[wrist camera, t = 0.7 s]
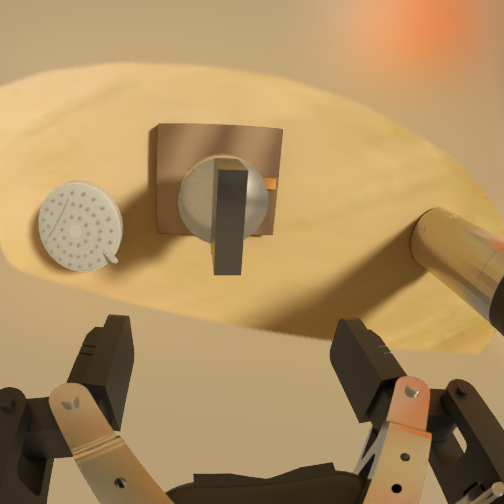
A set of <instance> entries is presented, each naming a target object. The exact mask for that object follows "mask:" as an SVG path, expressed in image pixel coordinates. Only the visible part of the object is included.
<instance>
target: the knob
mask: <svg viewBox="0 0 504 504" xmlns="http://www.w3.org/2000/svg"><path fill="white" fill-rule="evenodd" d="M268 200H269V198H268V191H267V187H266V184H265V182H264V180H263V178H262V177H261V175H260V174H259V173H258V172H257V171H256V170H255V169H254V168H253V167H252V166H251V165H250V164H249V163H248V162H246V161H245V160H243V159H242V158H240V157H237V156H234V155H230V154H214V155H210V156H207V157H205V158H203V159H201V160H199V161H198V162H196V163H195V164H194V165H193V166H192V167H191V168H190V169H189V170H188V172H187V173H186V175H185V177H184V179H183V181H182V184H181V188H180V192H179V197H178V208H179V213H180V216H181V219H182V221H183V223H184V224H185V226H186V227H187V228H188V230H189V231H190V232H191V233H192V234H194V235H195V236H196V237H198V238H199V239H201V240H203V241H206V242H209V243H211V254H212V261H213V270H214V275H241V266H242V252H243V240H244V239H245V238H247V237H249V236H250V235H251V234H253V233H254V232H255V231H256V230H257V229H258V227H259V226H260V225H261V223H262V222H263V220H264V218H265V216H266V213H267V209H268Z"/></svg>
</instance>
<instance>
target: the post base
mask: <svg viewBox="0 0 504 504" xmlns="http://www.w3.org/2000/svg"><path fill="white" fill-rule="evenodd" d="M282 135H283V129H277V128H266V127H253V126H238V125H218V124H158V138H157V234H192V233H191V232H190V231H189V230H188V228H187V227H186V226H185V224H184V223H183V221H182V219H181V216H180V213H179V208H178V197H179V192H180V188H181V184H182V181H183V179H184V177H185V175H186V173H187V172H188V170H189V169H190V168H191V167H192V166H193V165H194V164H195V163H196V162H198V161H199V160H201V159H203V158H205V157H207V156H210V155H214V154H230V155H234V156H237V157H240V158H242V159H243V160H245V161H246V162H248V163H249V164H250V165H251V166H252V167H253V168H254V169H255V170H256V171H257V172H258V173H259V174H260V175H261V177H262V178H263V180H264V182H265V184H266V187H267V191H268V198H269V200H268V209H267V213H266V216H265V218H264V220H263V222H262V223H261V225H260V226H259V227H258V229H257V230H256V231H255V232H254V233H253V234H251V235H273V226H274V217H275V207H276V197H277V187H278V177H279V167H280V156H281V146H282Z"/></svg>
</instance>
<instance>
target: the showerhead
mask: <svg viewBox="0 0 504 504" xmlns="http://www.w3.org/2000/svg"><path fill="white" fill-rule="evenodd" d="M38 228H39V234H40V238H41V240H42V243H43V245H44V247H45V249H46V250H47V252H48V253H49V255H50V256H51V257H52V258H53V259H54V260H55V261H56V262H57V263H59V264H60V265H62V266H63V267H65V268H67V269H70V270H73V271H77V272H91V271H95V270H98V269H100V268H102V267H104V266H105V265H106V264H108V263H109V262H110V261H111V262H112V263H117V262H118V259H117V258H116V257H115V254H116V252H117V250H118V248H119V245H120V243H121V240H122V236H123V221H122V216H121V213H120V210H119V208H118V205H117V204H116V202H115V200H114V199H113V198H112V197H111V195H110V194H109V193H108V192H107V191H106V190H104V189H103V188H101V187H100V186H98V185H96V184H94V183H91V182H88V181H71V182H68V183H65V184H63V185H61V186H59V187H57V188H55V189H54V190H53V191H52V192H51V193H49V195H48V196H47V197H46V198H45V200H44V202H43V204H42V206H41V209H40V212H39V218H38Z"/></svg>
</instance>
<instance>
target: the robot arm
mask: <svg viewBox="0 0 504 504" xmlns="http://www.w3.org/2000/svg"><path fill="white" fill-rule="evenodd" d="M411 252H412V255H413V257H414V259H415V260H416V261H417V262H418V263H419V264H421V265H422V266H423V267H424V268H426V269H427V270H428V271H429V272H431V273H432V274H433V275H434V276H435V277H437V278H438V279H439V280H440V281H442V282H443V283H444V284H445V285H446V286H448V287H449V288H450V289H451V290H452V291H454V292H455V293H456V294H457V295H458V296H459V297H461V298H462V299H463V300H464V301H465V302H466V303H468V304H469V305H470V306H471V307H472V308H473V309H474V310H476V311H477V312H478V313H479V314H480V315H481V316H483V317H484V318H485V319H486V320H487V321H488V322H489V323H490V324H491V325H492V326H493V327H495V328H496V329H497V330H498V331H499V332H500V333H501V334H502V335H503V336H504V241H503V240H501V239H500V238H498V237H496V236H494V235H493V234H491V233H489V232H487V231H485V230H484V229H482V228H480V227H478V226H476V225H474V224H473V223H471V222H469V221H467V220H465V219H463V218H461V217H459V216H457V215H455V214H453V213H451V212H449V211H447V210H445V209H443V208H434V209H432V210H429V211H428V212H427V213H425V214H424V215H423V216H422V217H421V218H420V220H419V221H418V223H417V224H416V226H415V228H414V230H413V234H412V237H411ZM330 361H331V364H332V366H333V368H334V370H335V372H336V374H337V377H338V379H339V381H340V383H341V385H342V387H343V389H344V391H345V393H346V395H347V398H348V400H349V402H350V404H351V406H352V408H353V410H354V412H355V414H356V417H357V419H358V421H359V423H364V422H369V421H371V423H372V427H371V429H370V430H369V433H368V436H367V439H366V442H365V445H364V447H363V450H362V453H361V455H360V458H359V460H358V463H357V465H356V467H355V469H354V471H353V473H349V472H345V471H335V468H334V465H333V463H332V462H331V463H326V464H319V465H313V466H307V467H300V468H298V469H295V470H292V471H290V472H287V473H284V474H281V475H278V476H275V477H272V478H268V479H263V478H254V477H248V476H241V475H235V474H193V475H194V482H192V483H187V484H184V485H181V486H177V487H175V488H173V489H171V490H169V491H167V492H164V491H163V490H162V489H161V488H160V487H159V486H158V484H157V483H156V482H155V481H154V479H153V478H152V477H151V476H150V475H149V473H148V472H147V471H146V470H145V468H144V467H143V466H142V465H141V463H140V462H139V461H138V459H137V458H136V457H135V455H134V454H133V453H132V451H131V450H130V448H129V447H128V446H127V444H126V443H125V442H124V440H123V439H122V438H121V437H120V436H117V435H116V434H115V433H114V431H120V429H121V423H122V417H123V412H124V407H125V402H126V396H127V392H128V387H129V382H130V377H131V373H132V368H133V363H134V346H133V339H132V332H131V325H130V318H129V316H124V315H108V317H107V320H106V322H105V324H104V327H95V328H94V329H93V330H91V331H90V332H89V333H88V334H87V335H86V337H85V340H84V342H83V345H82V347H81V349H80V351H79V354H78V356H77V358H76V361H75V363H74V365H73V368H72V370H71V373H70V376H69V378H68V380H67V383H65V384H62V385H60V386H58V387H57V388H55V389H54V390H53V391H52V393H51V394H50V396H49V397H45V398H33V399H26V398H25V395H24V394H23V393H22V391H20V390H19V389H16V388H12V387H8V388H3V389H1V390H0V504H47V496H48V490H49V483H50V478H51V472H52V467H53V462H54V458H64V457H73V458H74V460H75V462H76V464H77V465H78V467H79V469H80V471H81V473H82V474H83V476H84V478H85V480H86V481H87V483H88V485H89V486H90V488H91V490H92V491H93V493H94V494H95V496H96V497H97V499H98V501H99V502H100V504H419V501H420V497H421V492H422V488H423V483H424V479H425V474H426V469H427V463H428V461H429V463H430V465H431V467H432V469H433V471H434V473H435V476H436V478H437V480H438V482H439V484H440V486H441V489H442V491H443V493H444V495H445V498H446V500H447V502H448V504H504V430H503V428H502V427H501V425H500V424H499V422H498V421H497V419H496V418H495V416H494V415H493V413H492V412H491V411H490V409H489V408H488V406H487V405H486V403H485V402H484V401H483V399H482V398H481V396H480V395H479V394H478V392H477V391H476V389H475V388H474V387H473V386H472V385H471V384H470V383H468V382H467V381H464V380H461V379H455V380H452V381H450V382H449V384H448V386H447V387H446V389H429V387H428V385H427V384H426V383H425V382H424V381H422V380H421V379H419V378H417V377H413V376H407V375H406V373H405V372H404V370H403V369H402V368H401V366H400V365H399V363H398V362H397V360H396V359H395V357H394V356H393V354H391V353H390V350H389V349H388V347H386V345H385V343H384V342H383V340H382V339H381V338H380V336H378V335H377V334H376V333H374V332H373V331H372V330H370V329H369V330H367V328H366V327H365V325H364V324H363V322H362V321H361V320H360V319H359V318H349V319H340V320H339V322H338V325H337V328H336V332H335V335H334V338H333V342H332V345H331V349H330ZM456 427H458V429H459V430H460V432H461V433H462V435H463V437H464V439H465V441H466V444H467V448H466V451H465V453H464V452H463V450H462V449H461V447H460V445H459V443H458V441H457V439H456V438H455V436H454V434H453V431H454V430H455V428H456ZM113 430H114V431H113Z"/></svg>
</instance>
